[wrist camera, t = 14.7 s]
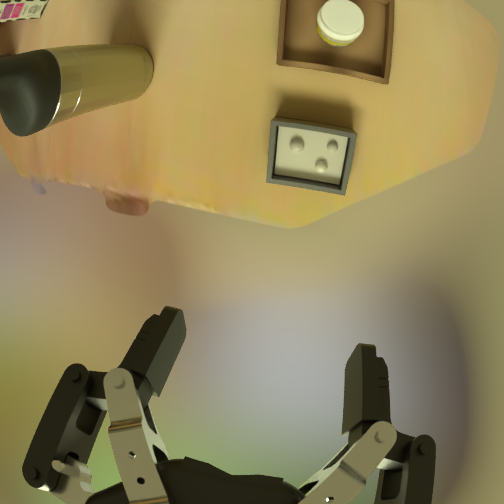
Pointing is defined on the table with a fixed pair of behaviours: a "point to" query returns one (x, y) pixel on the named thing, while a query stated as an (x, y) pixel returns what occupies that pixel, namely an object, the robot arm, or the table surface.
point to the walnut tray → (337, 58)
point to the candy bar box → (21, 9)
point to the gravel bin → (310, 155)
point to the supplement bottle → (339, 22)
